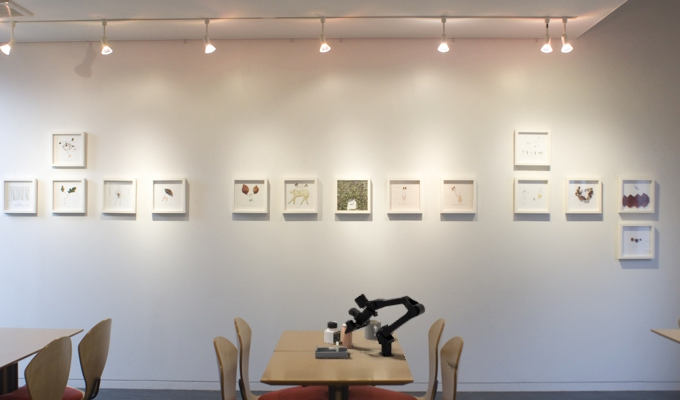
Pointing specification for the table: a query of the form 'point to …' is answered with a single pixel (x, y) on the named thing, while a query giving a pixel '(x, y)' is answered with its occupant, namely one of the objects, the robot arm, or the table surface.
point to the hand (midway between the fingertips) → (349, 331)
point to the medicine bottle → (332, 333)
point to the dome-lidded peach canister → (346, 337)
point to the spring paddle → (335, 347)
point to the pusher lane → (330, 352)
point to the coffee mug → (372, 329)
